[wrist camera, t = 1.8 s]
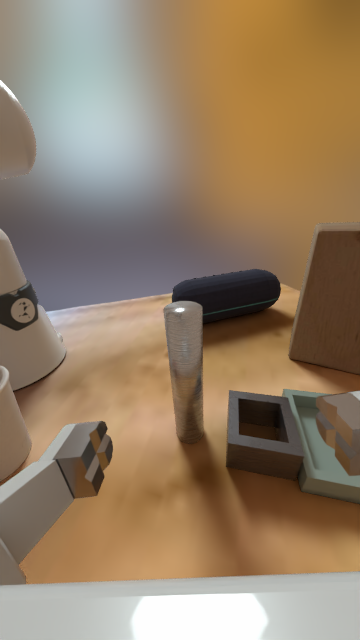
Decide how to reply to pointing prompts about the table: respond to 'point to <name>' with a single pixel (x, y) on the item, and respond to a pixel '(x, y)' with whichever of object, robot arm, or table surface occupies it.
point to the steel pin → (186, 367)
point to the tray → (319, 453)
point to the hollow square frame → (258, 452)
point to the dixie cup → (11, 429)
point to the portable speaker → (230, 293)
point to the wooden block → (330, 300)
